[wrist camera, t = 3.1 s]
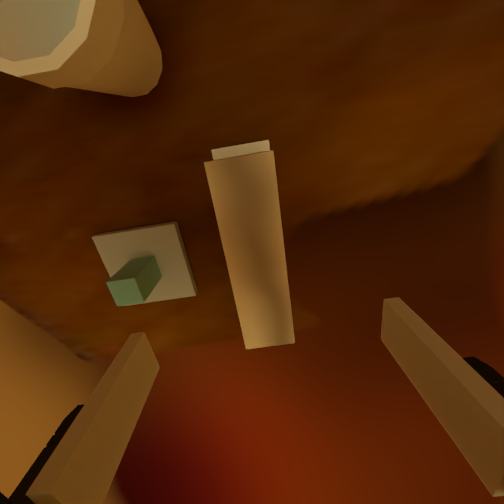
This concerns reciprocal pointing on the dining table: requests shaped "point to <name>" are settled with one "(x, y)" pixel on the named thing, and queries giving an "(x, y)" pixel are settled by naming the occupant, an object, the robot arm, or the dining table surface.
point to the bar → (253, 245)
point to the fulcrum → (146, 264)
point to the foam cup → (80, 45)
